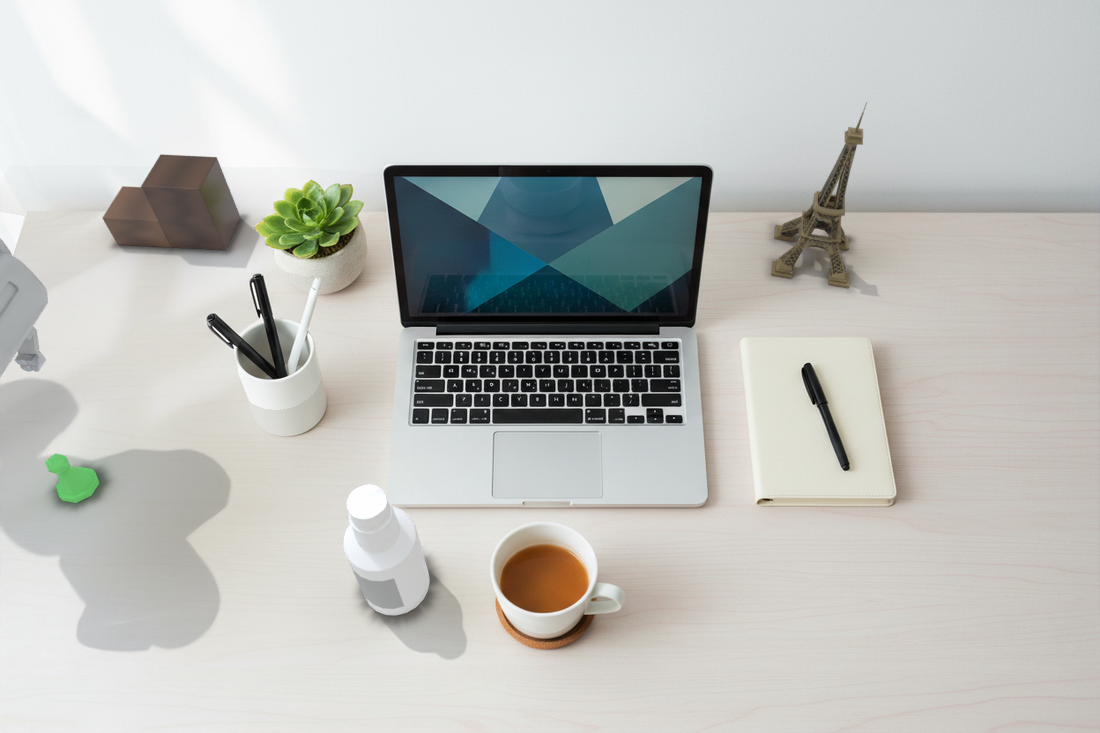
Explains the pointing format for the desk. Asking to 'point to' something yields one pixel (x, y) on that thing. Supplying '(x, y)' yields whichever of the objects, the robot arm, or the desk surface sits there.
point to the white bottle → (384, 552)
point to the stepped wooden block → (176, 206)
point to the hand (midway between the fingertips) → (12, 404)
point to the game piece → (72, 479)
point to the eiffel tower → (823, 219)
